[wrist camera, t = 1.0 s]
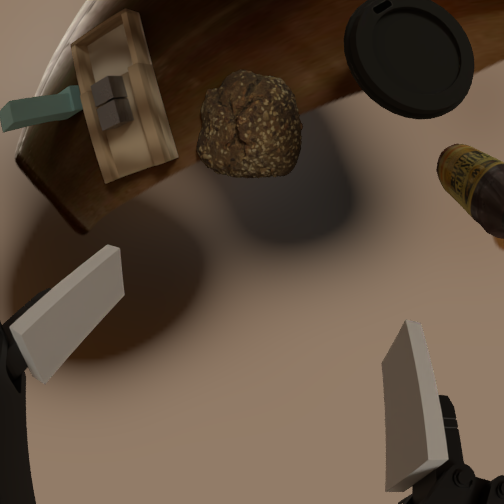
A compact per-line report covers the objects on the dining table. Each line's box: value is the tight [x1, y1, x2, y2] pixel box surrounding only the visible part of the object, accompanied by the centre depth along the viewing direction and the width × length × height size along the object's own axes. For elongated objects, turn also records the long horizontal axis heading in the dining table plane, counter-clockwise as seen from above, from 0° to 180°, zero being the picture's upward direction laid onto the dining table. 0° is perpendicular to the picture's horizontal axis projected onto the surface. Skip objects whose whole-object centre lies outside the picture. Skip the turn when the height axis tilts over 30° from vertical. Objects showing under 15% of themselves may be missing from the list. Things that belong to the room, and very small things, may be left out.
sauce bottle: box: [437, 144, 504, 239], centre depth 21 cm, size 6×6×20 cm
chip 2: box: [96, 99, 134, 131], centre depth 33 cm, size 3×3×3 cm
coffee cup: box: [344, 0, 474, 119], centre depth 21 cm, size 10×10×15 cm
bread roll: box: [197, 70, 303, 178], centre depth 32 cm, size 13×12×5 cm
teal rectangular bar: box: [0, 85, 83, 132], centre depth 31 cm, size 4×4×13 cm
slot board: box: [71, 8, 178, 184], centre depth 34 cm, size 22×10×4 cm, turn 15°
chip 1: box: [91, 76, 128, 107], centre depth 32 cm, size 3×3×3 cm
